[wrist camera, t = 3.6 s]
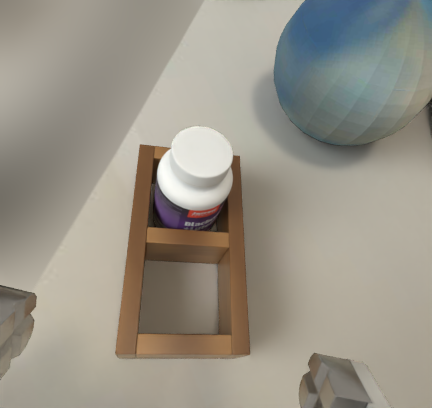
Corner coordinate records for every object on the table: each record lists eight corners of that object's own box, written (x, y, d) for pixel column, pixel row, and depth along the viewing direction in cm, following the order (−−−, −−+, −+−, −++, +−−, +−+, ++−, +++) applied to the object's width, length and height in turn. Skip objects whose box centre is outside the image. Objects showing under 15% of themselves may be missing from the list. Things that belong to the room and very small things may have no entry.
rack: (118, 358, 24) (115, 354, 20) (139, 170, 31) (139, 144, 27) (234, 358, 25) (250, 354, 22) (228, 180, 32) (240, 155, 29)
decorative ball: (341, 69, 44) (427, -62, 31) (399, 164, 38) (535, 51, 25) (236, 75, 39) (285, -76, 26) (283, 184, 33) (377, 59, 20)
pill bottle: (182, 257, 28) (202, 203, 19) (139, 212, 29) (140, 142, 20) (226, 218, 30) (260, 156, 22) (184, 178, 31) (203, 104, 23)
